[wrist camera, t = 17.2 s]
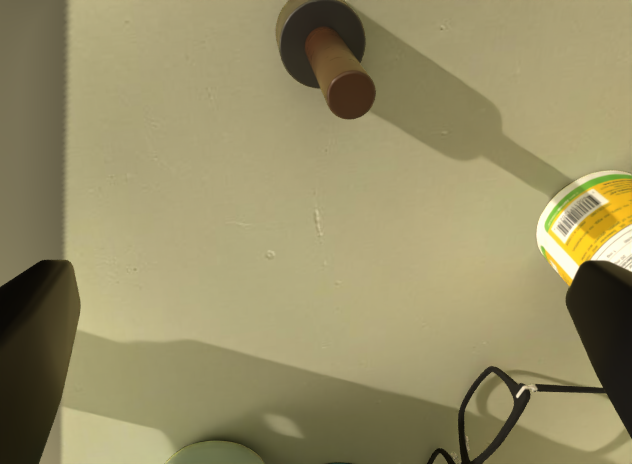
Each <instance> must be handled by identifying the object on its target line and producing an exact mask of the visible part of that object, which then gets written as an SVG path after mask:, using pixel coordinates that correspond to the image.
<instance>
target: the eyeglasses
mask: <svg viewBox="0 0 632 464" xmlns="http://www.w3.org/2000/svg"><path fill="white" fill-rule="evenodd" d="M491 372H494V373H495V374H497V375H498V376H499V377H500V378H501V379H502V380H503V381H504V382H505V383H506V385H507V386H508V388H509V390H510V392H511V394H512V396H513V399H514V407H513V410H512V412H511V414H510V416H509V418H508V419H507V421H506V423H505V424H504V426H503V427H502V429H501V430H500V432H499V434H498V435H497V436H496V438H495V439H494V440H493V442H492V443H491V444H490V445H489V446H488V447H487V449H486V450H485V451H483V452H482V453H481V454H480V455H479V456H478V457H477V458H475V459H474V460H472V461H470V460H469V456H468V452H467V451H470V448H469V445H468V443H467V442H469V439H468V436H465V433H464V413H465V408H466V406H467V404H468V402H469V400H470V398H471V396H472V395H473V393H474V391H475V390H476V389H477V387H478V386H479V384H480V383H481V382H482V381H483V380H484V379H485V377H486V376H488V375H489V374H490V373H491ZM529 389H531V390H533V391H534V392H536V391H540V392H576V393H606V392H605V390H604V388H596V387H578V386H560V385H542V384H530V386H527V385H525V384H522V383H520V384H519V385H518V384H517V383H516V382H515V381H514V380H513V379H512V378H511V377H509V376H508V375H507V374H506V373H505V372H503V371H502V370H500V369H499V368H497V367H494V366H490V367H488V368H487V369H485V370H484V372H483V373H482V374H481V375H480V376H479V377H478V378H477V379H476V381H475V382H474V383H473V385H472V386H471V388H470V389H469V391H468V392H467V394H466V396H465V398H464V400H463V402H462V404H461V407H460V410H459V414H458V433H459V445H460V454H461V461H462V462H460V461H459V460H458V459H457V458H458V456H457V455H456V454H455V453H454V452H452V453H451V454H450V455H449V454H448V453H447V452H446V451H445V450H444V449H442V448H438V449H436V450H435V451H434V452H433V454H432V455H431V457H430V459H429V461H428V463H427V464H433V462H434V460H435V458H436V457H437V455H438V454H439V453H441V454H442V455H443V456H444V458H445V459H446V461H447V463H448V464H455V462H454V461H453V459H454V460H457V461H458V462H459V463H458V464H482V463H483V462H484V461H485V460H486V459H488V458H489V457H490V456H491V455H492V454H493V453H494V452H495V451H496V449H497V448H498V447H499V446H500V445H501V443H502V442H503V441H504V440H505V438H506V437H507V435H508V434H509V432H510V431H511V430H512V428H513V427H514V425H515V424H516V422H517V421H518V419H519V417H520V416H521V414H522V412H523V411H524V409H525V407H526V405H527V403H528V402H529V400H530V390H529ZM467 447H468V449H467ZM451 457H452V458H453V459H452V458H451Z"/></svg>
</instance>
